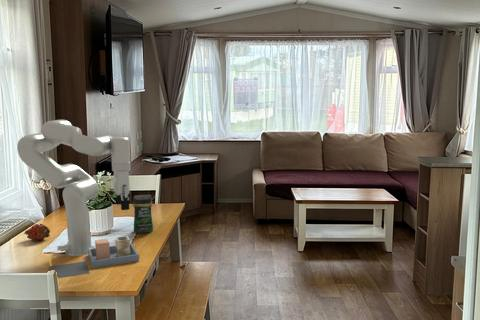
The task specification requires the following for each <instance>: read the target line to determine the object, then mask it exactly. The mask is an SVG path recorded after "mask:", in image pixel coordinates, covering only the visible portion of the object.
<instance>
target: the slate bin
mask: <svg viewBox="0 0 480 320" xmlns="http://www.w3.org/2000/svg"><path fill="white" fill-rule="evenodd" d="M109 249H110V258H108V259H101V260H97V259H96V247H95V248H93V249H88V254H87V256H88V258H89V260H90V264H91V267H92V269H96V268H101V267H109V266H114V265H115V266H116V265H122V264H129V263H136V262H140V254H139V253H138V250H137V249H136V247H135V245H134V244H133V243H131V242H130V255H129V256H122V257H117V255H116V244H115V245H109Z"/></svg>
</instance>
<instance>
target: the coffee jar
mask: <svg viewBox="0 0 480 320" xmlns="http://www.w3.org/2000/svg"><path fill="white" fill-rule="evenodd" d="M152 205H153V199H152V195H151V194H138V195H136V194H135V195H134V196H133V198H132V206H133V208H134V210H133V211H134V218H133V219H134V220H133V231H134V233H136V234H145V233H151V232H153V230H154V224H153V216H152Z"/></svg>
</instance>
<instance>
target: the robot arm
mask: <svg viewBox="0 0 480 320" xmlns="http://www.w3.org/2000/svg"><path fill="white" fill-rule="evenodd" d="M61 144H62V145H66V146H69V147H71V148H72V149H74V151H76V152H77V153H81V154H83V155H87V156H93V157H99V156H103V155H107V154H111V171H112V172H113V192H114V193H115V194H116V195H115V198H116V205H117V206H119V205H120V209H121V211H128V210H130V197H129V194H130V177H129V176H130V175H129V172H130V171H131V165H132V164H131V145H130V144H131V140H130V138H129V137H126V136H114V135H110V134H109V135H101V136H97V137H92V136H89V135H88V136H87V135H85V134H83V132H82V129H81V128H79V127H77V126H74V125H73V124H72V123H71V122H70V121H68V119H67V120H66V119H56V120H55V119H54V120H48V121H46V122H45V123H43V124H42V126H41V127H40V132H37V133H31V134H28V135H24V136H22V137H21V138H20V139H19V140H18V142H17V144H16V145H17V148H16V150H17V155H19V156H18V157H19V158H20V160H21V161H22V162H23V163H24V164H25V165H26V166H28V167H29V168H30V169H31V170H33V171H34V172H35V173H37V175H39V176H40V177H41V178H43V179H44V180H45V181H46V182H47V183H48V184H49V185H50V186H51V187H54V188H55V189H63V190H62V199H63V203H64V207H65V215H66V227H67V242H66V244H64V245H57V246H56V247H57V248H56V249H57V251H60V252H64V253H65V255H67V256H71V257H81V256H86V255H87V256H88V249H93V248H96V246H93V245H92V236H91V232H90V227H91V219H90V210H89V208H88V205H87V201H90V200H92V199H94V198H96V197H97V195H99V192H100V187H99V184H98V183H97V181H96V180H95V179H94V178H93V177H92V176H91V175H90V174H88V172H86V171H85V170H83V169H82V168H81V167H80V166H78V165H76V164H73V163H66V164H58V163H57V162H56V161H55V160H54V159H53V158H51V157H50V156H47V155H45V154H44V152H48V151H51V150H54V148H57V147H58V146H60V145H61Z"/></svg>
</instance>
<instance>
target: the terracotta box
mask: <svg viewBox="0 0 480 320" xmlns="http://www.w3.org/2000/svg"><path fill="white" fill-rule="evenodd" d="M94 245H95V246H94V247H95V248H96V259H97V260H101V259H108V258H110V249H109V246H110V241H109V239H108V238H103V239H102V238H101V239H95V241H94Z"/></svg>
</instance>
